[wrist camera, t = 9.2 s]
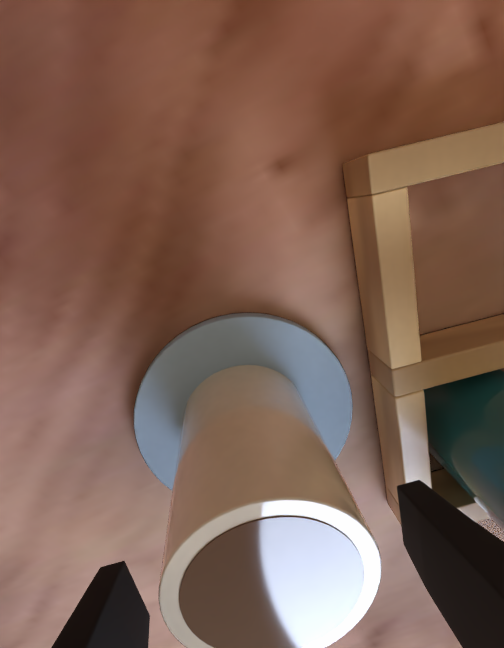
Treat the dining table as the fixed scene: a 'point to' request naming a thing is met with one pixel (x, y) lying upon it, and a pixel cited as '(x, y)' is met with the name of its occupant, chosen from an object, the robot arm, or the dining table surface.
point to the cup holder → (413, 304)
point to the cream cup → (261, 523)
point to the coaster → (228, 351)
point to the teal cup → (471, 436)
